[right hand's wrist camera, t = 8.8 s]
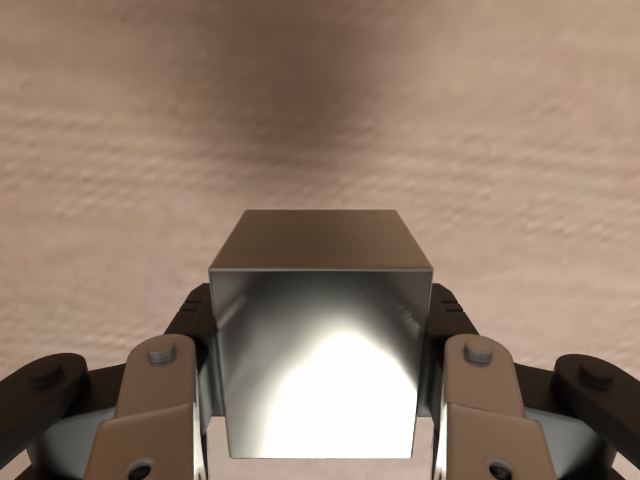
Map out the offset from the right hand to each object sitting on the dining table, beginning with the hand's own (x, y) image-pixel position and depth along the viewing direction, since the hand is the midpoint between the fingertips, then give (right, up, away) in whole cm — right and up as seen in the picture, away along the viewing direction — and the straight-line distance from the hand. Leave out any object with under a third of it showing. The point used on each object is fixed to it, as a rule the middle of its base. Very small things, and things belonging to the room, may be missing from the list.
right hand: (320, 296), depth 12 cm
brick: (0, 0, 0) cm, 1 cm away
